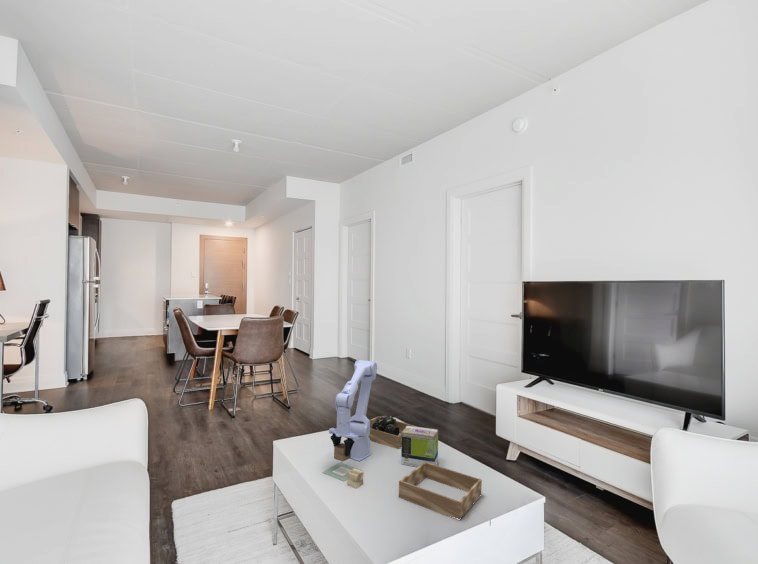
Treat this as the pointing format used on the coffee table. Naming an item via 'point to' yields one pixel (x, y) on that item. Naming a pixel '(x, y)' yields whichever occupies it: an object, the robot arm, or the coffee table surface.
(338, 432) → the robot arm
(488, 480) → the coffee table surface
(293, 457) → the coffee table surface
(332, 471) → the build mat
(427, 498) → the box
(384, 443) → the camera crate
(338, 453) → the walnut block
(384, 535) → the coffee table surface
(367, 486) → the coffee table surface
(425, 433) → the tea box
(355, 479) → the maple block
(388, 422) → the film camera
